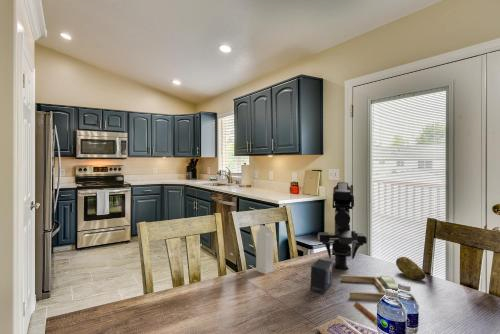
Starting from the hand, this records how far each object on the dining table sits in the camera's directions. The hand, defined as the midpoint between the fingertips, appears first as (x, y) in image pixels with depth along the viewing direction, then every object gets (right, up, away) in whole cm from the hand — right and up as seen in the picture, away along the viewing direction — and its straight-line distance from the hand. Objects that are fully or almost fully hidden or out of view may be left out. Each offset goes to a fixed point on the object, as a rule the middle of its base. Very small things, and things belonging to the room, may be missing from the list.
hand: (341, 258), depth 121 cm
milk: (-31, -13, +21) cm, 40 cm away
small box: (-7, -14, +4) cm, 16 cm away
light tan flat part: (+14, -14, +2) cm, 20 cm away
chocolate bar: (+4, -15, -16) cm, 23 cm away
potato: (+37, -14, +16) cm, 43 cm away
